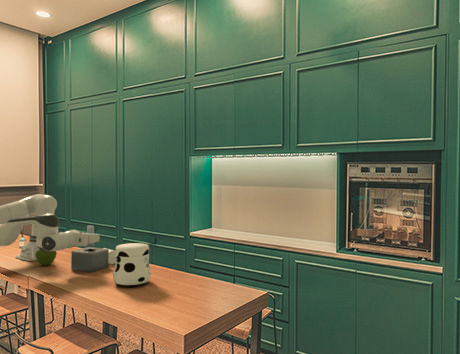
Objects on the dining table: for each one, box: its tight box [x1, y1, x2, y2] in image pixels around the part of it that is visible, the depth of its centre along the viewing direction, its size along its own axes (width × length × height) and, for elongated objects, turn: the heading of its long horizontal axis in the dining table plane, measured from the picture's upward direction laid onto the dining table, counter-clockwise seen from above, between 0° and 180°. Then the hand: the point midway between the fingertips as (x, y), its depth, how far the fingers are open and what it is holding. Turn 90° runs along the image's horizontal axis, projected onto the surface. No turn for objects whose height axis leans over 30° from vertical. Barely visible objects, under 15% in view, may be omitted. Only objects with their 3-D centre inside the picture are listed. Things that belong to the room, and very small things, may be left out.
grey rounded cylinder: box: [86, 225, 95, 248], centre depth 201 cm, size 4×4×11 cm
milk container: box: [112, 242, 152, 288], centre depth 174 cm, size 17×17×18 cm
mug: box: [103, 247, 116, 265], centre depth 215 cm, size 12×10×8 cm
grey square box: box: [70, 246, 109, 273], centre depth 201 cm, size 14×13×10 cm
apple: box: [35, 250, 58, 266], centre depth 206 cm, size 11×10×10 cm
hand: (91, 234), depth 201 cm, fingers closed on grey rounded cylinder, 4 cm apart
